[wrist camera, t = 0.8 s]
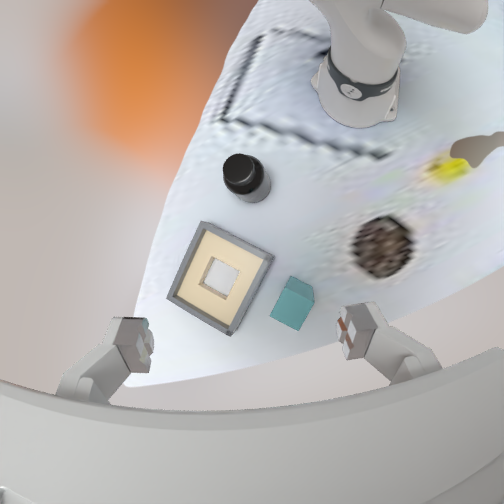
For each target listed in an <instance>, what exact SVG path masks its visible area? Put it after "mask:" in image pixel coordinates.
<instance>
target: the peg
mask: <svg viewBox="0 0 504 504" xmlns="http://www.w3.org/2000/svg"><path fill="white" fill-rule="evenodd" d="M313 304H314V296H313V289H312V287H311V286H309V285H308V284H306V283H304V282H302V281H300V280H298V279H296V278H294V277H292V276H291V277H290V278H289V280H288V282H287V284H286V286H285V288H284V290H283V292H282V293H281V295H280V297H279V299H278V301H277V303H276V305H275V307H274V308H273V310H272V312H271V314H270V317H272V318H274V319H276V320H278V321H280V322H282V323H284V324H286V325H288V326H289V327H291V328H293V329H295V330H297V331H299V329H300V328H301V326H302V324H303V322H304V321H305V319H306V317H307V315H308V313H309V312H310V310H311V308H312V306H313Z"/></svg>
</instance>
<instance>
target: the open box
mask: <svg viewBox="0 0 504 504" xmlns="http://www.w3.org/2000/svg"><path fill="white" fill-rule="evenodd" d="M214 258H216V259H218V260H220V261H222V262H224V263H225V264H227V265H229V266H231V267H233V268H235V269H237V270H238V271H240V273H239V275H238V277H237V279H236V281H235V283H234V285H233V287H232V289H231V291H230V293H229V295H228V297H227V296H225V295H223V294H221V293H219V292H218V291H216V290H214V289H212V288H211V287H209V286H207V285H205V284H204V283H203V281H204V279H205V277H206V275H207V273H208V271H209V269H210V267H211V264H212V262H213V260H214ZM273 258H274V256H273V255H271V254H269V253H267V252H265V251H263V250H261V249H259V248H257V247H256V246H254V245H252V244H250V243H248V242H246V241H244V240H242V239H240V238H238V237H236V236H234V235H232V234H230V233H228V232H226V231H224V230H222V229H220V228H218V227H217V226H215V225H213V224H211V223H208V222H204V221H201V222H200V224H199V226H198V228H197V230H196V232H195V235H194V237H193V239H192V241H191V243H190V245H189V248H188V250H187V252H186V254H185V256H184V259H183V261H182V263H181V265H180V267H179V270H178V272H177V274H176V277H175V279H174V281H173V284H172V286H171V288H170V291H169V293H168V295H167V298H166V299H168V300H169V301H171V302H173V303H174V304H176V305H177V306H179V307H181V308H182V309H184V310H185V311H187V312H189V313H190V314H192V315H194V316H195V317H197V318H199V319H200V320H202V321H204V322H205V323H207V324H209V325H211V326H212V327H214V328H216V329H217V330H219V331H221V332H223V333H224V334H226V335H228V336H230V337H231V335H232V334H233V333H234V332H235V331H236V330H237V328H238V326H239V324H240V322H241V320H242V318H243V316H244V314H245V312H246V311H247V309H248V307H249V305H250V303H251V301H252V299H253V297H254V295H255V293H256V291H257V289H258V287H259V285H260V284H261V282H262V280H263V278H264V276H265V274H266V272H267V270H268V268H269V266H270V264H271V262H272V260H273Z"/></svg>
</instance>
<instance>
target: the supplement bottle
mask: <svg viewBox="0 0 504 504" xmlns="http://www.w3.org/2000/svg"><path fill="white" fill-rule="evenodd" d="M223 179H224V183H225V185H226V187H227V188H228V189H229V190H230V191H231V192H232V193H234V194H235V195H236V196H238V197H239V198H240V199H242V200H243V201H245V202H249V203H256V202H259V201H261V200H263V199H264V198H265V197H266V196H267V195H268V193H269V191H270V187H271V182H270V178H269V176H268V174H267V172H266V171H265V169H264V167H263V165H262V164H261V162H260V161H259V160H258V159H257V158H255V157H253V156H250V155H244V154H234V155H232V156H230V157H228V159H227V160H226V161H225V163H224V165H223Z"/></svg>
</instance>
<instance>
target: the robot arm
mask: <svg viewBox="0 0 504 504" xmlns="http://www.w3.org/2000/svg"><path fill="white" fill-rule="evenodd" d="M309 1H310V2H311V3H312V4H313V5H315V6H316V7H317V8H318V9H319V10H320V11H321V13H322V14H323V15H324V16H325V18H326V19H327V21H328V23H329V26H330V32H331V46H330V47H329V50H328V54H327V56H325V57H324V59H323V61H324V62H323V63H321V64H320V66H319V71H318V72H317V73H316V74H315V75H314V76H313V77H312V79H311V85H312V86H313V88H314V89H315V90H316V91H317V93H318V96H319V100H320V103H321V105H322V107H323V109H324V110H325V111H326V113H327V114H328V115H329V116H330V117H331V118H333V119H334V120H336V121H337V122H339V123H341V124H343V125H346V126H349V127H354V128H366V127H371V126H373V125H375V124H377V123H380V122H386V121H394V120H395V119H396V116H397V106H398V95H399V82H400V68H399V64H400V61H401V59H402V57H403V54H404V52H405V50H406V38H405V35H404V32H403V30H402V29H401V27H400V26H399V24H398V23H397V21H396V20H395V19H394V18H393V17H392V16H391V15H390V14H388V13H387V12H386V11H390V12H393V13H396V14H399V15H403V16H406V17H408V18H411V19H414V20H417V21H420V22H422V23H425V24H428V25H430V26H434V27H438V28H442V29H445V30H449V31H453V32H457V33H461V34H470V33H472V32H474V31H476V30H477V29H479V28H480V27H481V26H482V25H483V23H484V22H485V20H486V17H487V14H488V0H309ZM384 10H386V11H384ZM390 109H391V110H392V111H390ZM339 313H340V315H341V317H340V318H339V319H338V321H337V325H336V332H337V337H338V340H339V341H340V342H341V343H343V347H342V350H343V353H344V355H345V358H346V360H351V359H358V358H363V357H364V359H366V360H367V361H368V362H369V363H370V364H371V365H372V366H374V367H375V368H376V369H377V370H378V371H379V372H381V373H382V374H383V375H384V376H385V377H386V378H388V379H389V380H390V381H391V383H390V385H389V386H387V387H384V388H380V389H376V390H372V391H368V392H363V393H359V394H354V395H350V396H345V397H339V398H334V399H329V400H324V401H317V402H311V403H304V404H297V405H289V406H280V407H271V408H259V409H245V410H225V411H181V410H180V411H179V410H157V409H143V408H133V407H124V406H116V405H111V404H110V402H109V401H108V400H109V398H110V397H111V396H112V395H113V394H114V393H115V391H116V390H117V389H118V388H119V387H120V385H121V384H122V383H123V382H124V381H125V380H126V379H127V377H128V376H129V375H130V374H131V373H149V369H150V365H151V359H150V357H149V356H150V355H151V354H152V353H153V350H154V338H153V334H152V332H151V331H150V330H149V329H148V326H149V323H148V320H147V318H139V317H113V318H112V319H111V321H110V324H109V327H108V329H107V332H106V334H105V337H104V340H103V342H102V344H98V345H97V346H96V347H95V348H93V349H92V350H91V351H90V352H89V353H87V354H86V355H85V356H84V357H82V358H81V359H80V360H79V361H78V362H76V363H75V364H74V365H73V366H72V367H70V368H69V369H68V370H67V371H65V372H64V373H63V376H62V378H61V381H60V384H59V386H58V389H57V392H56V394H55V395H54V394H49V393H45V392H41V391H37V390H34V389H30V388H26V387H23V386H20V385H16V384H13V383H10V382H7V381H4V380H1V379H0V504H504V350H503V349H501V348H499V347H495V348H492V349H489V350H487V351H485V352H483V353H481V354H478V355H476V356H474V357H471V358H469V359H467V360H464V361H462V362H459V363H457V364H455V365H452V366H450V367H447V368H444V369H443V368H442V367H441V365H440V363H439V361H438V360H437V358H436V356H435V354H434V353H433V351H432V350H431V349H430V348H428V347H426V346H425V345H423V344H421V343H420V342H418V341H416V340H415V339H413V338H411V337H410V336H408V335H406V334H405V333H403V332H401V331H400V330H398V329H396V328H395V327H393V326H389V325H388V323H387V321H386V320H385V318H384V316H383V315H382V313H381V311H380V310H379V308H378V306H377V305H376V303H375V302H367V303H361V304H353V305H346V306H342V307H341V308H340V312H339Z"/></svg>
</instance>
